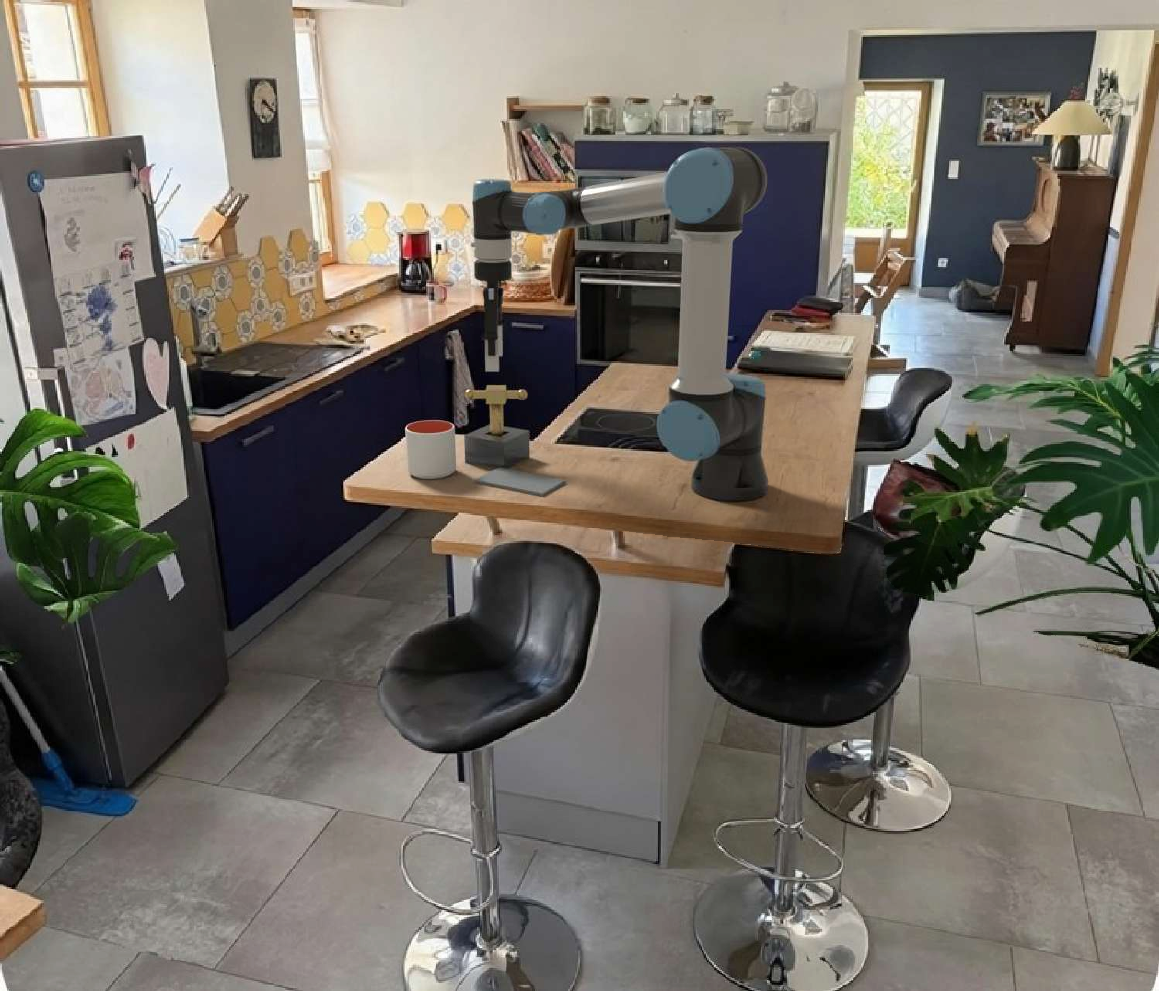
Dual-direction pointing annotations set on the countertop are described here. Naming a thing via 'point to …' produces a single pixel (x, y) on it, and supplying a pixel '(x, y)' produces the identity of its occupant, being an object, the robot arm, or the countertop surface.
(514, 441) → the block
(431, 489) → the countertop surface
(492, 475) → the mat
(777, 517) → the countertop surface
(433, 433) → the cup
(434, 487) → the countertop surface
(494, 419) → the brass ball-end t-bar
